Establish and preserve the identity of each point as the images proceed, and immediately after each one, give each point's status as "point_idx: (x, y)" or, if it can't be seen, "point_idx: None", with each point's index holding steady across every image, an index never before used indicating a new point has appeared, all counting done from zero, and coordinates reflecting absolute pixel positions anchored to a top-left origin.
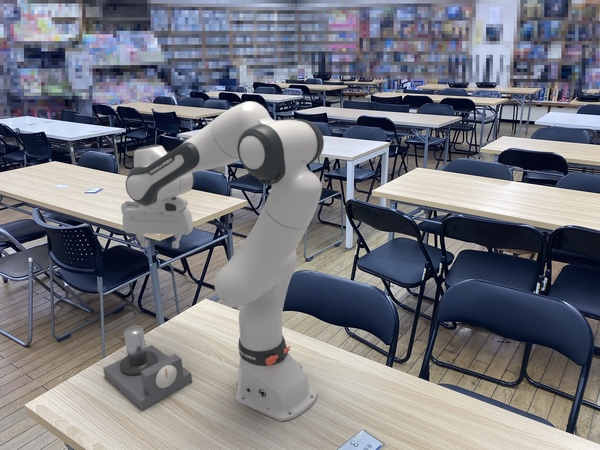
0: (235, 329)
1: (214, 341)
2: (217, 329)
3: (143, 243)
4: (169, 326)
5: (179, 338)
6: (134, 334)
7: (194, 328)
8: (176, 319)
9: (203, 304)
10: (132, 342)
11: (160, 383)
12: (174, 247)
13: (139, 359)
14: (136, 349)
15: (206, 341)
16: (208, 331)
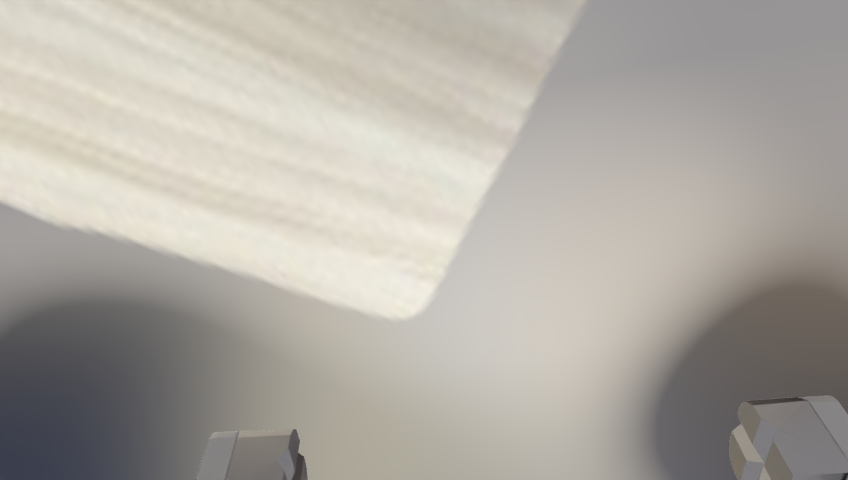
0: (159, 136)
1: (203, 14)
2: (246, 121)
3: (822, 448)
4: (502, 104)
5: (401, 7)
6: None
7: (365, 109)
8: (492, 167)
9: (417, 298)
10: None
11: None
12: (250, 437)
13: None
14: None
15: (244, 6)
16: (282, 96)
